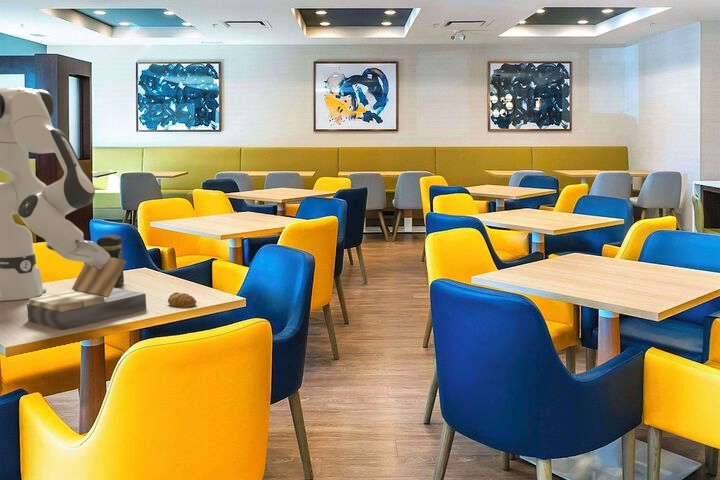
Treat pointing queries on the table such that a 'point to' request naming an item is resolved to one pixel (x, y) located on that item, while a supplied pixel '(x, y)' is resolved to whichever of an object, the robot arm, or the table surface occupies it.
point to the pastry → (181, 300)
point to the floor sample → (82, 307)
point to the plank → (99, 278)
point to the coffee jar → (113, 250)
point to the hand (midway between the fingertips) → (99, 267)
